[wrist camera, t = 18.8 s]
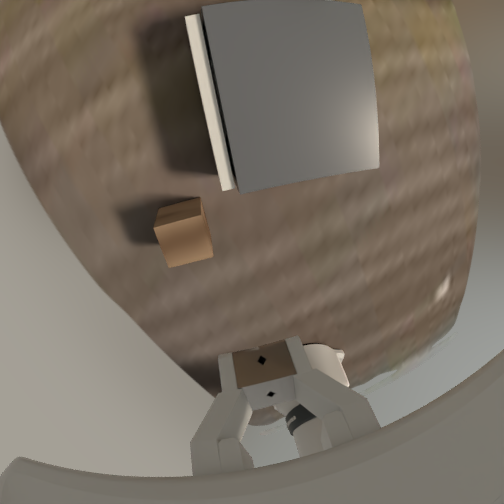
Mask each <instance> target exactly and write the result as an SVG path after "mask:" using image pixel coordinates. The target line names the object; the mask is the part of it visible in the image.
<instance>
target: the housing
mask: <svg viewBox="0 0 504 504" xmlns="http://www.w3.org/2000/svg"><path fill="white" fill-rule="evenodd" d="M201 25H202V30H203V35H204V40H205V45H206V50H207V55H208V60H209V65H210V60H211V59H212V64H213V69H214V74H215V79H216V84H217V88H218V93H219V98H220V103H221V108H222V113H223V118H224V123H225V128H226V132H227V137H228V140H227V137H225V133H224V137H225V142H226V147H227V152H228V156H229V161H230V166H231V171H232V175H233V180H234V182H235V184H236V186H237V189H238V191H239V193H240V194H244V193H249V192H253V191H257V190H262V189H266V188H271V187H276V186H281V185H285V184H290V183H295V182H300V181H305V180H310V179H316V178H321V177H327V176H332V175H338V174H344V173H350V172H356V171H362V170H368V169H375V168H379V134H378V115H377V102H376V91H375V81H374V73H373V65H372V58H371V52H370V45H369V40H368V34H367V29H366V24H365V19H364V15H363V10H362V6H361V4H354V3H347V2H338V1H328V0H247V1H236V2H228V3H220V4H214V5H208V6H202V9H201ZM206 35H207V38H206ZM207 40H208V43H207ZM208 44H209V48H208ZM209 49H210V53H209ZM210 54H211V57H210ZM210 69H211V65H210ZM211 74H212V70H211ZM212 79H213V75H212ZM213 84H214V80H213ZM214 89H215V84H214ZM215 94H216V89H215ZM216 99H217V94H216ZM217 103H218V99H217ZM218 108H219V104H218ZM219 113H220V109H219ZM220 118H221V114H220ZM221 123H222V118H221ZM222 128H223V123H222ZM223 132H224V128H223ZM228 142H229V145H228ZM229 147H230V150H229ZM230 152H231V155H230ZM231 157H232V160H231ZM232 162H233V165H232Z"/></svg>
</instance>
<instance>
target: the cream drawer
mask: <svg viewBox="0 0 504 504" xmlns="http://www.w3.org/2000/svg"><path fill="white" fill-rule="evenodd" d="M185 20H186V28H187V33H188V38H189V43H190V48H191V53H192V58H193V63H194V67H195V72H196V77H197V82H198V86H199V91H200V96H201V100H202V105H203V110H204V114H205V119H206V123H207V128H208V132H209V137H210V141H211V146H212V150H213V155H214V159H215V164H216V168H217V172H218V177H219V180H220V184H221V187H222V191H225V190H229V189H234V188H235V185H234V180H233V175H232V171H231V166H230V161H229V156H228V152H227V147H226V142H225V137H227V132H226V128H225V123H224V118H223V113H222V108H221V103H220V98H219V93H218V88H217V84H216V79H215V74H214V69H213V64H212V59H211V60H210V65H211V69H210V65H209V60H208V55H207V50H206V45H205V40H204V35H203V30H202V25H201V21H200V16H199V14H195V15H190V16H185ZM206 38H207V35H206ZM207 43H208V40H207ZM208 48H209V44H208ZM209 53H210V49H209ZM210 57H211V54H210ZM211 70H212V74H211ZM212 75H213V79H212ZM213 80H214V84H215V89H216V94H217V99H218V103H217V99H216V94H215V89H214V84H213ZM218 104H219V108H218ZM219 109H220V113H219ZM220 114H221V118H222V123H223V128H224V132H223V128H222V123H221V118H220ZM224 133H225V137H224ZM227 140H228V137H227ZM228 145H229V142H228ZM229 150H230V147H229ZM230 155H231V152H230ZM231 160H232V157H231ZM232 165H233V162H232Z"/></svg>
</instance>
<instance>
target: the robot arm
mask: <svg viewBox="0 0 504 504" xmlns="http://www.w3.org/2000/svg"><path fill="white" fill-rule="evenodd" d="M343 358H344V352H343V350H335V349H332V348H330V347H328V346H326V345H322V344H310V345H304V346H303V345H302V342H301V340H300V337H299V336H295V337H291V338H288V339H285V340H284V339H283V340H279V341H276V342H272V343H269V344H265V345H261V346H258V347H255V348H251V349H246V350H241V351H236V352H232V353H227V354H222V355H219V356H218V363H219V371H220V379H221V387H222V392H221V393H218V395H217V396H216V398H215V400H214V402H213V404H212V405H211V407H210V409H209V411H208V412H207V414H206V416H205V418H204V420H203V421H202V423H201V425H200V426H199V428H198V430H197V432H196V433H195V435H194V437H193V438H192V440H191V442H190V447H191V459H192V471H193V476H184V477H135V476H134V477H133V476H118V475H109V474H99V473H92V472H85V471H79V470H73V469H68V468H64V467H59V466H54V465H50V464H46V463H42V462H38V461H35V460H31V459H28V458H24V457H17V458H16V459H14V460H13V461H12V463H11V464H10V465H9V466H8V467H7V468H6V469H5V471H4V472H3V473H2V474H1V476H0V504H504V349H503V350H502V351H501V352H500V353H499V354H498V355H496V356H495V357H494V358H493V359H492V360H490V361H489V362H488V363H487V364H485V365H484V366H483V367H482V368H480V369H479V370H478V371H476V372H475V373H474V374H472V375H471V376H470V377H468V378H467V379H465V380H464V381H463V382H461V383H460V384H458V385H457V386H455V387H454V388H452V389H451V390H449V391H448V392H446V393H445V394H443V395H442V396H440V397H438V398H437V399H435V400H433V401H432V402H430V403H428V404H427V405H425V406H423V407H421V408H420V409H418V410H416V411H414V412H412V413H410V414H409V415H407V416H405V417H403V418H401V419H399V420H397V421H395V422H393V423H391V424H389V425H387V426H384V427H382V428H381V427H380V425H379V423H378V421H377V419H376V416H375V414H374V412H373V410H372V408H371V406H370V404H369V402H368V400H367V398H365V397H364V396H362V395H360V394H358V393H357V392H355V391H353V390H351V389H350V388H348V386H349V382H348V379H347V377H346V374H345V372H344V369H343V367H342V364H341V362H342V360H343ZM272 405H274V408H275V409H276V410H278V412H280V413H281V414H283V415H284V416H285V417H286V422H287V427H288V430H289V431H290V434H291V435H292V436H294V439H295V442H296V445H297V449H298V452H299V455H300V458H297V459H293V460H289V461H285V462H281V463H277V464H273V465H268V466H263V467H258V468H254V465H253V460H252V457H251V456H250V455H249V453H248V452H247V451H246V450H245V448H244V447H243V446H242V444H241V443H240V442H241V440H242V437H243V435H244V432H245V429H246V427H247V425H248V422H249V420H250V417H251V415H252V411H253V410H257V409H261V408H265V407H268V406H272Z"/></svg>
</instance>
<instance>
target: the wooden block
mask: <svg viewBox="0 0 504 504" xmlns="http://www.w3.org/2000/svg"><path fill="white" fill-rule="evenodd" d="M153 228H154V231H155V234H156V236H157V239H158V242H159V244H160V247H161V249H162V252H163V254H164V257H165V259H166V262H167V264H168V267H169V268H171V267H175V266H179V265H183V264H187V263H191V262H195V261H199V260H203V259H207V258H211V257H213V249H212V241H211V234H210V230H209V227H208V223H207V220H206V216H205V212H204V209H203V205H202V201H201V198H200V197H199V198H195V199H191V200H188V201H184V202H180V203H176V204H173V205H169V206H166V207H162V208H159V210H158V213H157V217H156V220H155V224H154V227H153Z"/></svg>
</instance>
